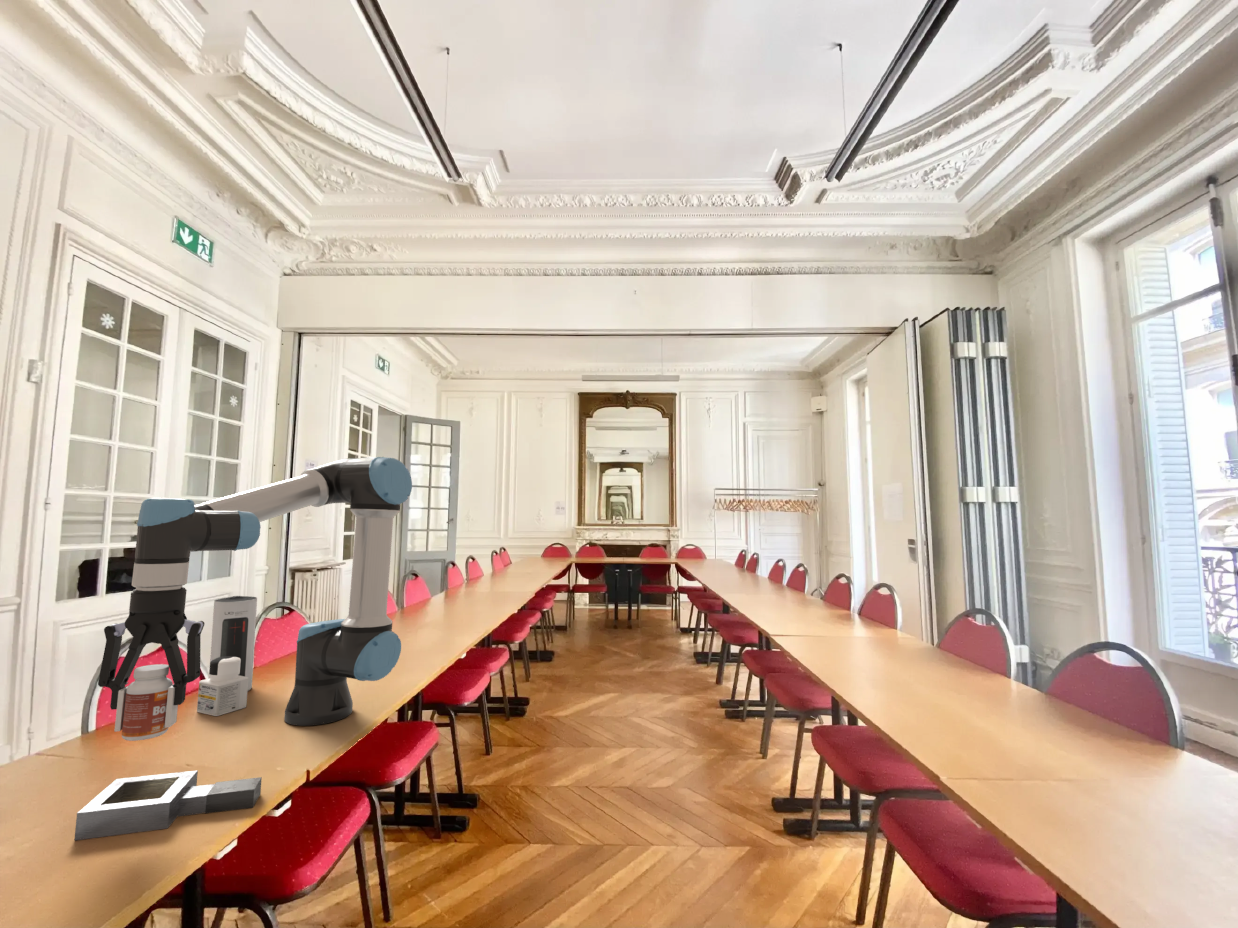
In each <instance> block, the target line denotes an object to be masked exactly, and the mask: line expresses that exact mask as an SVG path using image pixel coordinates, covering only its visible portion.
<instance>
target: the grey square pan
mask: <svg viewBox="0 0 1238 928" xmlns="http://www.w3.org/2000/svg"><path fill="white" fill-rule="evenodd" d="M198 773H199V772H198V770H189V771H187V770H186V771H178V772H171V773H170V772H169V773H158V774H151V775H141V776H133V777H122V778H115V780H113V782H111V783H109V785H107V786H106V788H104V789H103V790H101V792H100V793H98V794H97V795H96V796H95V797H94V798H93V799H91V800H90V801H89V802H88V803H87V804H86V805H84V806H83V808H81V809H80V810H79V811H77V812H76V820H75V821H76V822H75V829H74V831H75V832H74V839H73V840H74V841H81V840H88V839H89V840H90V839H95V838H105V837H113V836H120V835H126V834H135V833H142V832H150V831H157V830H158V831H159V830H164V829H165V830H166V829H168V828H169V827H171V825H172V824H173V823H174V822H175V820H176V819H177V817H184V816H192V815H200V814H211V813H220V812H227V811H237V810H242V809H243V810H244V809H252V808H254V806H255V804H256V803H257V801H258V799H259V798H260V796H261V795H262V794H261V793H262V776H261V777H251V778H241V779H234V780H232V779H231V780H224V781H216V782H215V783H213V784H211V783H210V784H203V785H202V784H201V785H197V783H198Z"/></svg>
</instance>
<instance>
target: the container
mask: <svg viewBox="0 0 1238 928" xmlns="http://www.w3.org/2000/svg"><path fill="white" fill-rule="evenodd" d="M240 663H241V659H240V658H239V657H236V656H224V657H218V658H216V659H214V660H212V661H211V662H210V661H209V669H210V670H209V671H208V678H206V679H202V680H199V682H198V695H197V704H196V705H197V706H196V712H197V713H199V714H203V715H204V714H205V715H208V716H214V717H219V716H223V715H225V714H230V713H232V712H235V711H239V710H242V709H245V708H246V707H247V701H248V700H247V699H248V691H247V690H248V677H245V676H239V674H240Z"/></svg>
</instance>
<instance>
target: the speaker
mask: <svg viewBox="0 0 1238 928" xmlns="http://www.w3.org/2000/svg"><path fill="white" fill-rule="evenodd" d="M257 606H258V597H257V596H246V595H245V596H243V595H234V596H227V597H222V598H218V599H214V600H213V612H212V613H213V614H212V625H211V626H212V628H211V642H210V643H211V644H210V657H209V659H210V660H209V663H210V662H211V661H212V660H214V659H216V658H218V657H224V656H236V657H239V658H240V659H241V663H240V674H239V676H245V677H248V690H247V692H249V691H250V690H251V689H253V676H254V674H253V672H254V658H255V656H254V655H255V642H256V623H257V622H256V621H257V608H258V607H257ZM209 670H210V668H209Z"/></svg>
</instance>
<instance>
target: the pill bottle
mask: <svg viewBox="0 0 1238 928" xmlns="http://www.w3.org/2000/svg"><path fill="white" fill-rule="evenodd" d="M169 673H170V668H169V665H168V664H164V663H160V664H159V663H158V664H156V663H155V664H147V665H142V666H138V667H136V668H135V667H134V669H133V675H132V676H133V679H134V681H132V682H131V683H130V684H129V685H127V686H128V687H127V691H126V699H125V709H124V718H123V727H122V730H121V738H122V739H123V740H124V741H129V742H133V741H134V742H135V741H144V740H149V739H154V738H158V737H161V736H162V735H164V734H165V733H167V732H168V731H169V728H170V727H167V728H165V717H166V707H167V696H168V688H169V687H170V686H172V685H173V684H174V682H173V679H170V678H168V677H167V676H168V675H169Z"/></svg>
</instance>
